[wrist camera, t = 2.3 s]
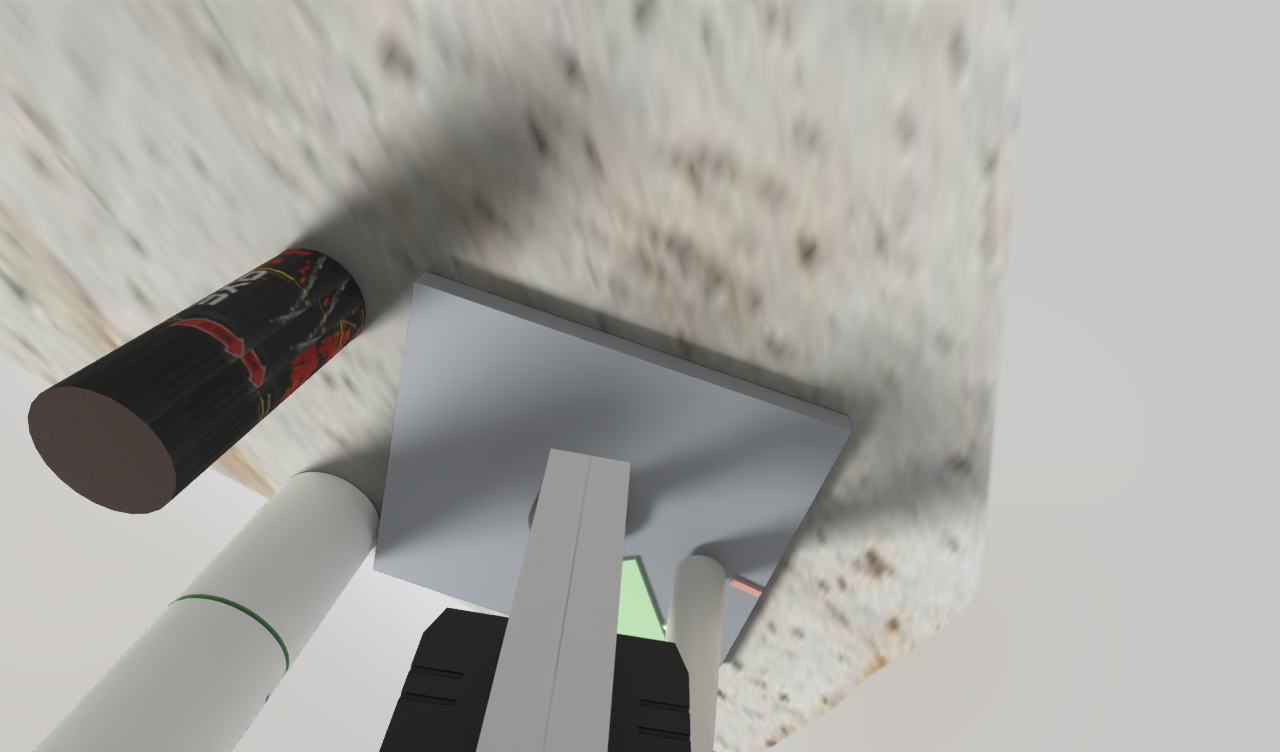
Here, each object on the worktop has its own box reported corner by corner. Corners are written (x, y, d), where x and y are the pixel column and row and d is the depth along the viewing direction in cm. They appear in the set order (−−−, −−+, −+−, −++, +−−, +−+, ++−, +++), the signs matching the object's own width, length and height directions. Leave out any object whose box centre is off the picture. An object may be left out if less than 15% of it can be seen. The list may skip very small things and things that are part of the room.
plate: (383, 554, 50) (370, 573, 48) (425, 271, 39) (411, 283, 37) (712, 665, 50) (710, 687, 48) (849, 416, 39) (852, 434, 37)
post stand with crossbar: (522, 524, 44) (420, 750, 31) (554, 459, 41) (457, 678, 28) (702, 606, 45) (674, 858, 32) (745, 548, 42) (735, 799, 29)
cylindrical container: (266, 517, 50) (-118, 933, 28) (300, 453, 46) (-106, 870, 25) (357, 570, 51) (54, 1008, 30) (397, 511, 48) (89, 958, 26)
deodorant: (315, 229, 38) (84, 361, 26) (386, 320, 41) (206, 484, 28) (244, 278, 41) (-1, 422, 28) (315, 362, 43) (117, 532, 30)
